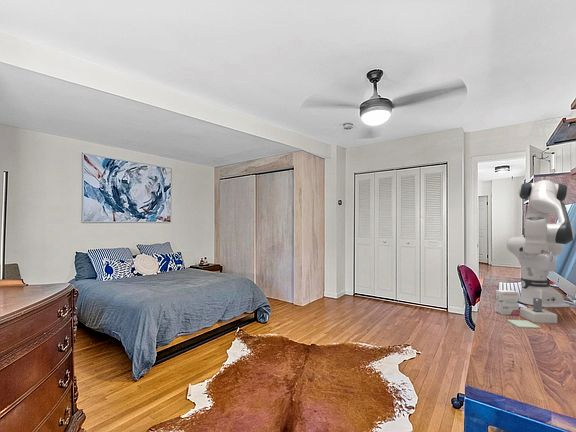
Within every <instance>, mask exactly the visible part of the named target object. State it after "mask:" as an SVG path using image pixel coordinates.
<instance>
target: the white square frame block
mask: <svg viewBox="0 0 576 432" xmlns="http://www.w3.org/2000/svg"><path fill="white" fill-rule="evenodd" d="M519 315H520V317H521V318H524V319H525V320H527V321H529V322H531V323H541V324H543V323H544V324H558V314H556V313H554V312H551V311H549V310H546V309H544V308H542V312H535V311H534V309H533V308H532V307H531V308H530V307H520V308H519Z"/></svg>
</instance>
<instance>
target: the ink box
mask: <svg viewBox="0 0 576 432" xmlns="http://www.w3.org/2000/svg"><path fill="white" fill-rule="evenodd" d="M519 303H520V301H519V291H516V290H509V289H508V290H507V289H505V290H504V289H496V290H495V305H496V306H495V311H496V313H498V314H500V315H508V316H511V315H512V316H514V315H515V316H519V315H520V308H519V306H520V305H519Z"/></svg>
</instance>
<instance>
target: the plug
mask: <svg viewBox="0 0 576 432" xmlns="http://www.w3.org/2000/svg"><path fill="white" fill-rule="evenodd" d="M532 307H533V309H534V311H535V312H542V309H543V307H542V299H539V298H533V305H532Z"/></svg>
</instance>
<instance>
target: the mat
mask: <svg viewBox="0 0 576 432" xmlns="http://www.w3.org/2000/svg"><path fill="white" fill-rule="evenodd" d="M506 322H508V323H509V324H512V326H515V327H516V328H520V329H539V330H540V329H542V328H541V326H539V325H538V324H536V323H534V322H532V321H530V320H527V319H525V320H524V319H522V320H521V319H520V320H519V319H506Z"/></svg>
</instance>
